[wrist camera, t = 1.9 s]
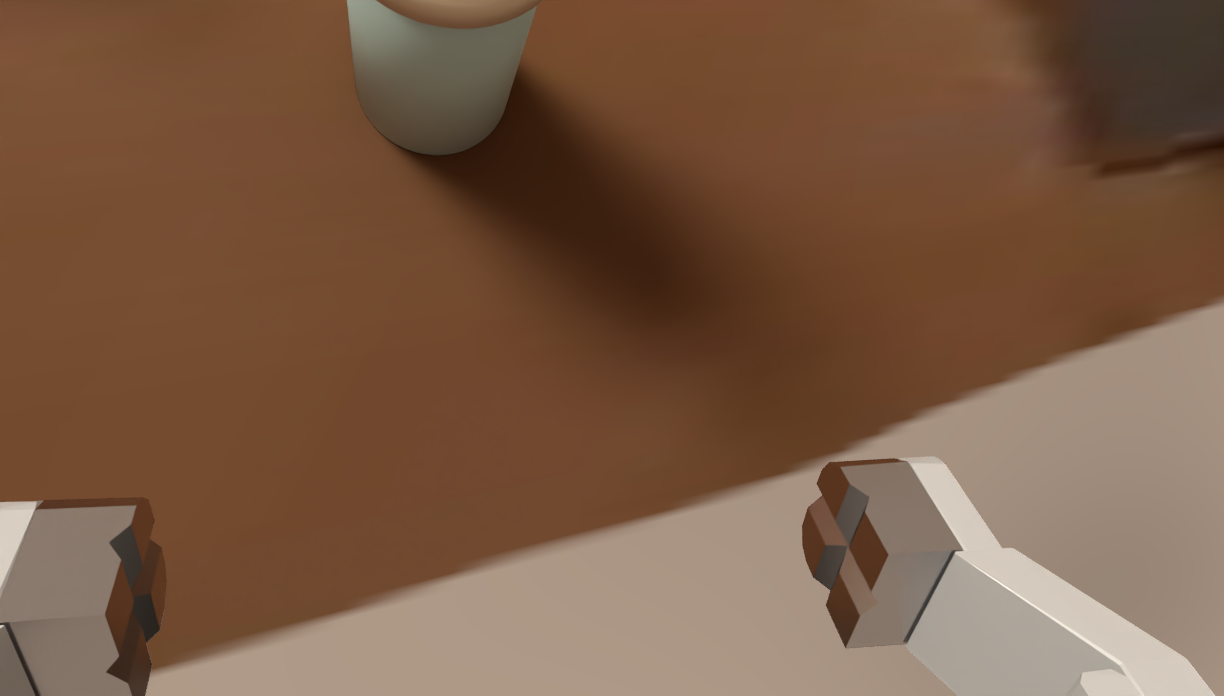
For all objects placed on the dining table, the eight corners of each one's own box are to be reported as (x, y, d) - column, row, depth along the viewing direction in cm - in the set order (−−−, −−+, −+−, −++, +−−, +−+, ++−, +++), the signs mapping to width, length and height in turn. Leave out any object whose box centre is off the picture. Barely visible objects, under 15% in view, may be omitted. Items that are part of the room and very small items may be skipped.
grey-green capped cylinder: (341, 164, 27) (312, -6, 17) (340, -8, 28) (312, -265, 18) (523, 171, 28) (591, 15, 19) (518, 5, 29) (581, -229, 19)
